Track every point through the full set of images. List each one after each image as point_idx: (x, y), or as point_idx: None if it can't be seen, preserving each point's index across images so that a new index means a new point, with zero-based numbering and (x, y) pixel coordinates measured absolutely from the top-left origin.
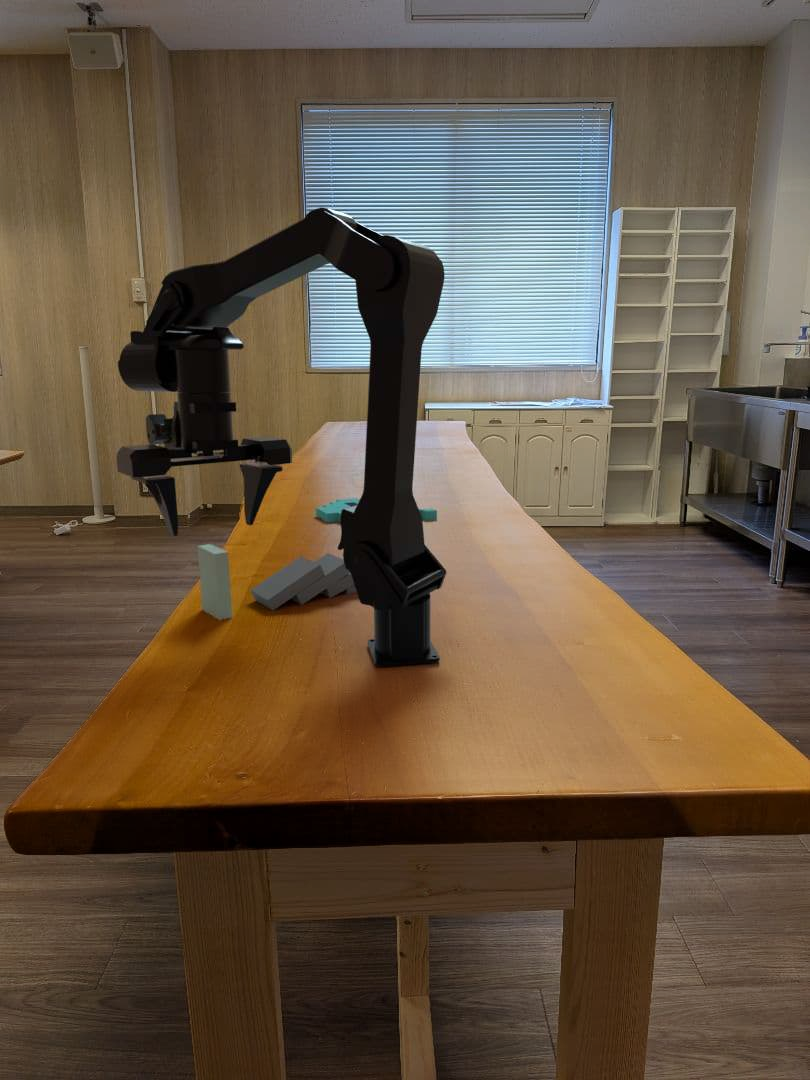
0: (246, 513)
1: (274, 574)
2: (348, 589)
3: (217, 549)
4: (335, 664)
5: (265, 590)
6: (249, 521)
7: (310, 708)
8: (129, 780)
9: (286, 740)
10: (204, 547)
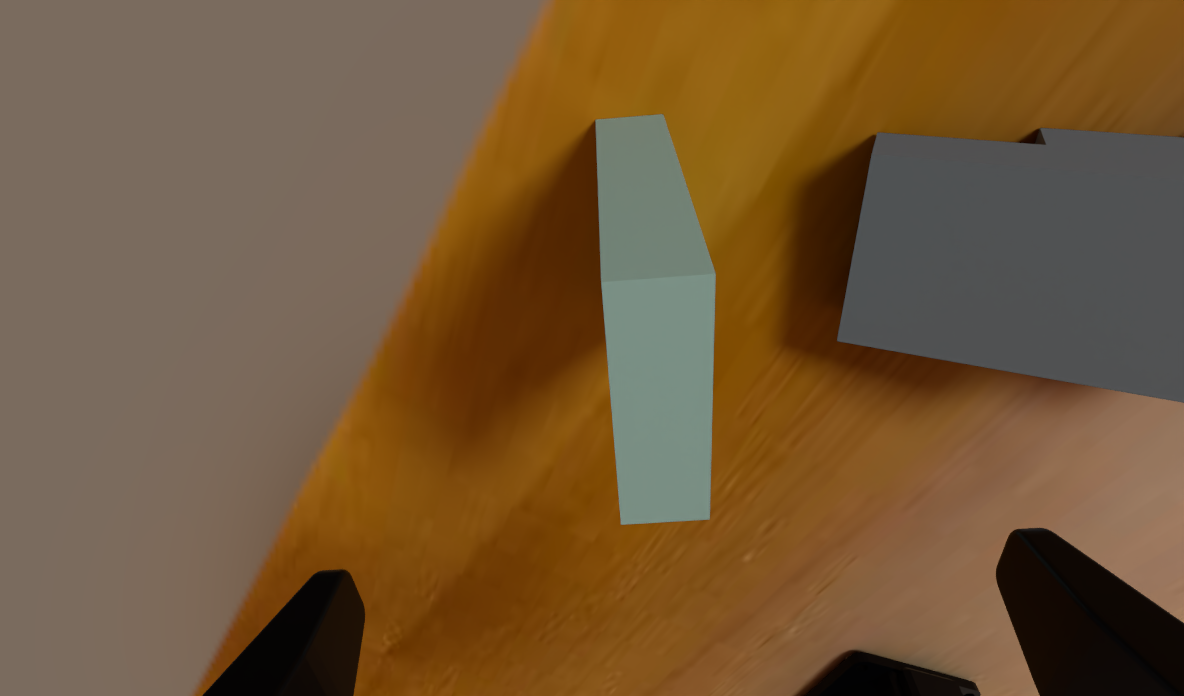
0: (1062, 635)
1: (1060, 178)
2: None
3: (683, 445)
4: (720, 681)
5: (896, 262)
6: (1010, 605)
7: None
8: None
9: None
10: (630, 353)
